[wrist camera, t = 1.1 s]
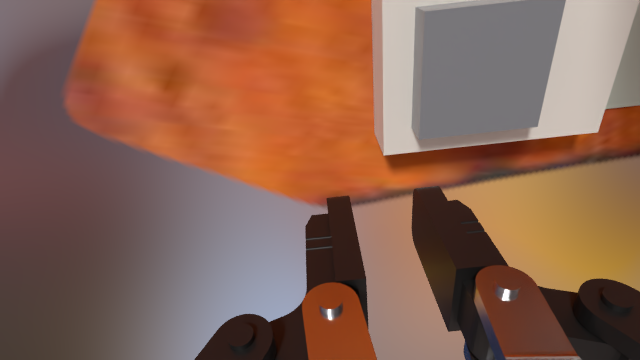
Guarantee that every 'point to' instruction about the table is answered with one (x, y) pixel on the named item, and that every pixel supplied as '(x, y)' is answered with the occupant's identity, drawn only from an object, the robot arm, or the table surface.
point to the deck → (562, 88)
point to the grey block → (482, 65)
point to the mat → (628, 71)
